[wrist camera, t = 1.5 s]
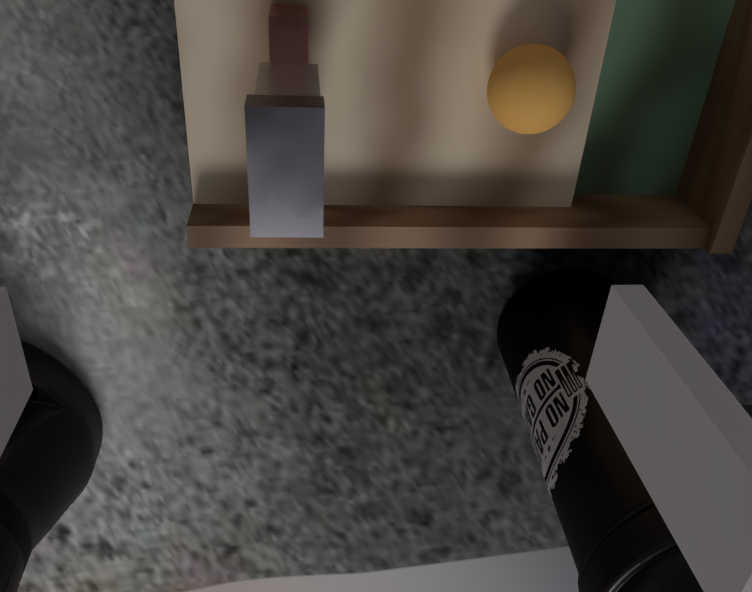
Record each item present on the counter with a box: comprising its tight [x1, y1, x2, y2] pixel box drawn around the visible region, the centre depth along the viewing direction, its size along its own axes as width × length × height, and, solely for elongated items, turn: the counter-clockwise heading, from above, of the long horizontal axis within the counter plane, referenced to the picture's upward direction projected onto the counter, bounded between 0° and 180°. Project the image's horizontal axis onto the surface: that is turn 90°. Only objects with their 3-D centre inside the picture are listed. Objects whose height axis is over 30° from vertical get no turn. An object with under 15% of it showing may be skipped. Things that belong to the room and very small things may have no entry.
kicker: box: [244, 3, 325, 238], centre depth 27 cm, size 2×6×12 cm, turn 177°
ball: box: [487, 44, 576, 134], centre depth 32 cm, size 4×4×4 cm
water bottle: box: [497, 268, 703, 592], centre depth 35 cm, size 10×10×23 cm
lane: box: [174, 0, 752, 253], centre depth 33 cm, size 28×16×5 cm, turn 87°
